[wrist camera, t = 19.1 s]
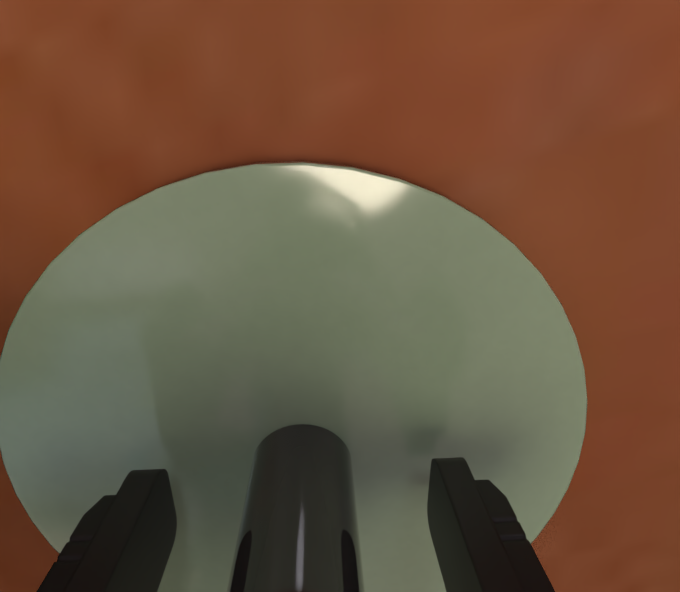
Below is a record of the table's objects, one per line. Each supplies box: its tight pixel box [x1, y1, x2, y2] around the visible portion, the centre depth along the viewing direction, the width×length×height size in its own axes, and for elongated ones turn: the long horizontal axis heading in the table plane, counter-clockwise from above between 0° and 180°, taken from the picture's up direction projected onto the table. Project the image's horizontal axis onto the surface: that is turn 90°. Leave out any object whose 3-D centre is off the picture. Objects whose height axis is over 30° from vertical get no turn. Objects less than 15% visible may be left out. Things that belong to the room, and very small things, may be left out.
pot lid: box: [0, 161, 587, 592], centre depth 9 cm, size 15×15×6 cm
